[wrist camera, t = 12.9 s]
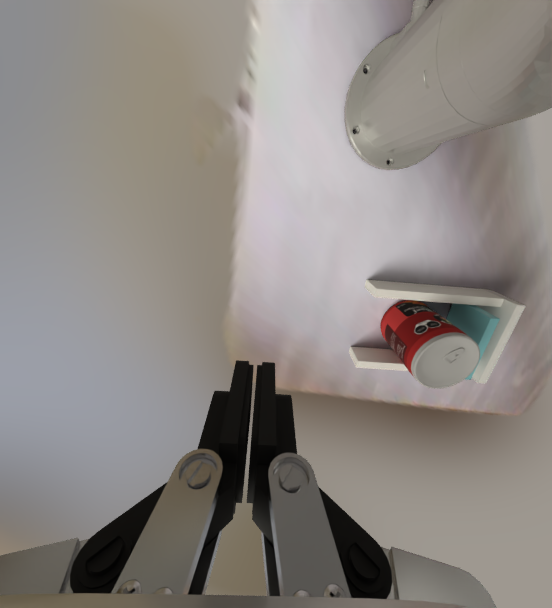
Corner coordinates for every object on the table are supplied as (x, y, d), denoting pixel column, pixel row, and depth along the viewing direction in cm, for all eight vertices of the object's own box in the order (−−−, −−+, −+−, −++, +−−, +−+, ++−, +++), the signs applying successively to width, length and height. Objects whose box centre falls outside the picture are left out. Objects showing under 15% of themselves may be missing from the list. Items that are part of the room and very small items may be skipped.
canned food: (439, 309, 40) (495, 348, 30) (408, 349, 43) (450, 397, 33) (398, 290, 39) (443, 325, 29) (369, 332, 42) (400, 377, 31)
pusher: (454, 297, 39) (490, 318, 33) (462, 298, 39) (499, 319, 33) (433, 351, 43) (462, 379, 36) (440, 351, 43) (470, 379, 36)
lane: (366, 279, 38) (382, 294, 32) (489, 289, 39) (525, 305, 33) (349, 352, 43) (360, 376, 37) (458, 359, 44) (485, 383, 38)
